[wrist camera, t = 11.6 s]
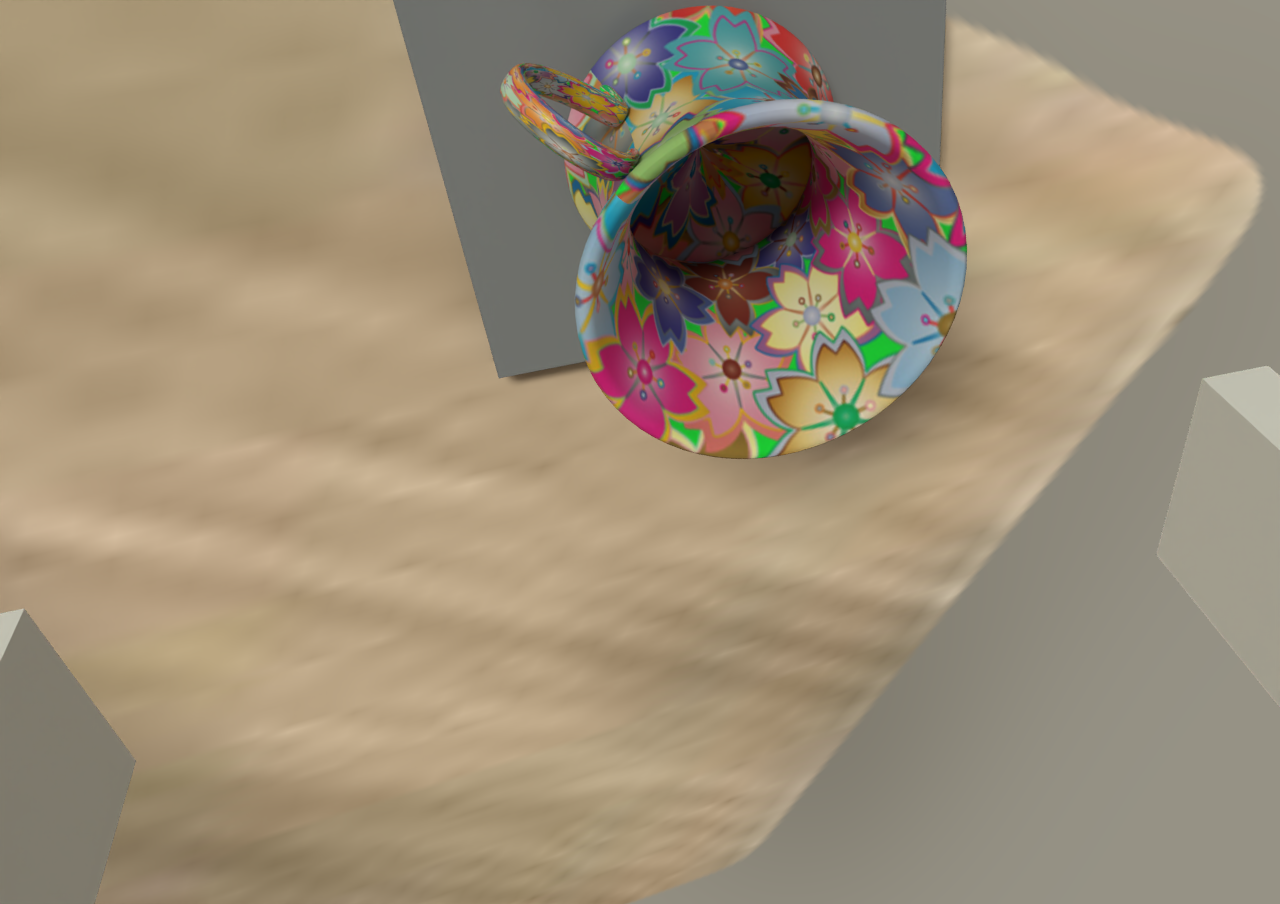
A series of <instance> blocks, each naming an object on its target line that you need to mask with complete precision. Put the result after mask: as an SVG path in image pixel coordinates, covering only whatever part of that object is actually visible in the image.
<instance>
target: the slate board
mask: <svg viewBox="0 0 1280 904" xmlns="http://www.w3.org/2000/svg"><path fill="white" fill-rule="evenodd" d="M393 2H394V5H395V9H396V12H397V16H398V19H399V23H400V27H401V30H402V34H403V37H404V41H405V44H406V48H407V52H408V55H409V59H410V62H411V66H412V69H413V73H414V77H415V80H416V84H417V87H418V91H419V94H420V98H421V102H422V105H423V109H424V112H425V116H426V120H427V123H428V127H429V130H430V134H431V137H432V141H433V145H434V148H435V152H436V155H437V159H438V162H439V166H440V170H441V173H442V177H443V180H444V184H445V187H446V191H447V195H448V198H449V202H450V205H451V209H452V212H453V216H454V220H455V223H456V227H457V230H458V234H459V237H460V241H461V245H462V248H463V252H464V255H465V259H466V263H467V266H468V270H469V273H470V277H471V280H472V284H473V288H474V291H475V295H476V298H477V302H478V305H479V309H480V313H481V316H482V320H483V323H484V327H485V330H486V334H487V338H488V341H489V345H490V348H491V352H492V355H493V359H494V363H495V366H496V370H497V373H498V377H499V378H503V377H508V376H513V375H518V374H524V373H529V372H534V371H539V370H544V369H549V368H554V367H559V366H565V365H570V364H575V363H580V362H585V358H584V355H583V353H582V349H581V345H580V341H579V337H578V333H577V325H576V318H575V290H576V280H577V275H578V270H579V265H580V261H581V257H582V254H583V251H584V248H585V244H586V242H587V240H588V237H589V235H590V233H591V230H590V229H589V227H588V226H587V225H586V223H585V222H584V220H583V218H582V217H581V215H580V213H579V212H578V210H577V207H576V205H575V203H574V201H573V198H572V196H571V193H570V190H569V186H568V182H567V178H566V171H565V164H564V159H563V158H562V157H560V156H559V155H557V154H556V153H554V152H553V151H552V150H550V149H549V148H548V147H546V146H545V145H544V144H542V143H541V142H540V141H539V140H537V139H536V138H535V137H534V136H533V135H532V134H530V133H529V132H528V131H527V130H526V129H525V128H524V127H523V126H522V125H521V124H520V123H519V122H518V121H517V120H516V119H515V118H514V117H513V116H512V115H511V113H510V112H509V111H508V110H507V108H506V107H505V105H504V103H503V101H502V99H501V95H500V88H501V84H502V82H503V80H504V78H505V77H506V75H507V74H508V72H509V71H510V70H511V69H512V68H513V67H514V66H516V65H518V64H521V63H533V64H539V65H543V66H547V67H550V68H553V69H556V70H559V71H561V72H564V73H566V74H568V75H571V76H573V77H575V78H577V79H579V80H581V81H584V80H585V78H586V76H587V75H588V73H589V72H590V70H591V69H592V67H593V66H594V65H595V64H596V62H597V61H598V60H599V58H600V57H601V56H602V55H603V54H604V53H605V52H606V51H607V50H608V49H609V48H610V47H611V46H612V45H613V44H614V43H615V42H616V41H618V40H619V39H620V38H621V37H622V36H624V35H625V34H626V33H628V32H629V31H631V30H632V29H634V28H635V27H637V26H639V25H641V24H642V23H644V22H646V21H648V20H650V19H652V18H655V17H657V16H659V15H662V14H665V13H668V12H671V11H674V10H678V9H683V8H687V7H696V6H727V7H734V8H739V9H744V10H748V11H751V12H754V13H757V14H760V15H762V16H764V17H766V18H768V19H771V20H773V21H774V22H776V23H778V24H779V25H781V26H783V27H784V28H785V29H787V30H788V31H789V32H791V33H792V34H793V35H794V36H796V37H797V38H798V39H799V40H800V41H801V42H802V43H803V44H804V45H805V46H806V48H807V49H808V50H809V51H810V52H811V54H812V55H813V56H814V58H815V59H816V61H817V62H818V64H819V65H820V67H821V69H822V71H823V73H824V75H825V77H826V80H827V82H828V85H829V87H830V90H831V94H832V98H833V101H834V102H835V103H840V104H846V105H849V106H852V107H855V108H859V109H862V110H865V111H867V112H870V113H872V114H874V115H877V116H879V117H881V118H883V119H885V120H887V121H889V122H890V123H892V124H894V125H895V126H897V127H899V128H900V129H902V130H903V131H904V132H906V133H907V134H908V135H910V136H911V137H912V138H914V139H915V140H916V141H917V142H918V143H919V144H920V145H921V146H922V147H923V148H924V149H925V150H926V151H927V152H928V153H929V154H930V155H931V157H932V158H933V159H934V160H935V162H936V163H937V164H938V165H939V166H940V144H941V119H942V93H943V68H944V43H945V18H946V0H393ZM540 97H541V98H542V99H543V100H544V101H545V102H546V103H547V104H548V105H549V106H551V107H552V108H553V109H554V110H555V111H556V112H558V113H559V114H560V115H561V116H562V117H564V118H565V119H566V120H568V118H569V114H570V111H571V108H570V107H568V106H566V105H564V104H561V103H559V102H556V101H554V100H551V99H548V98H545V97H542V96H540Z"/></svg>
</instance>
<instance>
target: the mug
mask: <svg viewBox="0 0 1280 904" xmlns="http://www.w3.org/2000/svg"><path fill="white" fill-rule="evenodd" d="M500 95H501V99H502V101H503V103H504V105H505V107H506V108H507V110H508V111H509V112H510V113H511V115H512V116H513V117H514V118H515V119H516V120H517V121H518V122H519V123H520V124H521V125H522V126H523V127H524V128H525V129H526V130H527V131H528V132H529V133H530V134H532V135H533V136H534V137H535V138H536V139H537V140H539V141H540V142H541V143H542V144H544V145H545V146H546V147H548V148H549V149H550V150H552V151H553V152H554V153H556V154H557V155H559V156H560V157H562V158H563V159H564V164H565V171H566V178H567V182H568V186H569V190H570V193H571V196H572V198H573V201H574V203H575V205H576V207H577V210H578V212H579V213H580V215H581V217H582V218H583V220H584V222H585V223H586V225H587V226H588V227H589V229H590V230H591V233H590V235H589V237H588V240H587V242H586V244H585V248H584V251H583V254H582V257H581V261H580V265H579V270H578V275H577V280H576V290H575V318H576V325H577V333H578V337H579V341H580V345H581V349H582V353H583V355H584V358H585V361H586V363H587V366H588V368H589V370H590V372H591V374H592V376H593V378H594V380H595V381H596V383H597V384H598V386H599V387H600V389H601V390H602V392H603V393H604V395H605V396H606V397H607V398H608V400H609V401H610V402H611V403H612V404H613V405H614V407H615V408H616V409H617V410H619V411H620V412H621V413H622V414H623V415H624V416H625V417H626V418H627V419H628V420H630V421H631V422H632V423H633V424H635V425H636V426H637V427H639V428H640V429H641V430H643V431H645V432H646V433H648V434H650V435H651V436H653V437H655V438H657V439H659V440H661V441H663V442H665V443H667V444H669V445H672V446H675V447H677V448H680V449H682V450H686V451H690V452H693V453H697V454H701V455H707V456H712V457H720V458H731V459H753V458H767V457H774V456H781V455H786V454H790V453H795V452H799V451H802V450H806V449H809V448H812V447H816V446H818V445H821V444H823V443H826V442H829V441H831V440H833V439H836V438H838V437H840V436H842V435H844V434H846V433H848V432H850V431H852V430H854V429H855V428H857V427H859V426H861V425H862V424H864V423H866V422H867V421H869V420H870V419H872V418H873V417H875V416H876V415H878V414H879V413H880V412H882V411H883V410H884V409H885V408H887V407H888V406H889V405H890V404H892V403H893V402H894V401H895V400H896V399H897V398H898V397H900V396H901V395H902V394H903V393H904V392H905V391H906V390H907V389H908V388H909V387H910V386H911V385H912V384H913V383H914V382H915V380H916V379H917V378H918V377H919V376H920V375H921V373H922V372H923V371H924V370H925V368H926V367H927V366H928V365H929V363H930V362H931V360H932V359H933V357H934V356H935V354H936V353H937V351H938V350H939V348H940V346H941V345H942V343H943V341H944V339H945V337H946V336H947V334H948V332H949V329H950V327H951V325H952V323H953V320H954V318H955V315H956V312H957V309H958V307H959V304H960V300H961V296H962V292H963V288H964V282H965V275H966V265H967V244H966V232H965V227H964V222H963V217H962V213H961V210H960V206H959V203H958V200H957V197H956V195H955V193H954V191H953V189H952V187H951V185H950V182H949V181H948V179H947V177H946V176H945V174H944V173H943V171H942V169H941V168H940V166H939V165H938V164H937V163H936V162H935V160H934V159H933V158H932V157H931V155H930V154H929V153H928V152H927V151H926V150H925V149H924V148H923V147H922V146H921V145H920V144H919V143H918V142H917V141H916V140H915V139H914V138H912V137H911V136H910V135H908V134H907V133H906V132H904V131H903V130H902V129H900V128H899V127H897V126H895V125H894V124H892V123H890V122H889V121H887V120H885V119H883V118H881V117H879V116H877V115H874V114H872V113H870V112H867V111H865V110H862V109H859V108H855V107H852V106H849V105H846V104H840V103H835V102H834V101H833V98H832V94H831V90H830V87H829V85H828V82H827V80H826V77H825V75H824V73H823V71H822V69H821V67H820V65H819V64H818V62H817V61H816V59H815V58H814V56H813V55H812V54H811V52H810V51H809V50H808V49H807V48H806V46H805V45H804V44H803V43H802V42H801V41H800V40H799V39H798V38H797V37H796V36H794V35H793V34H792V33H791V32H789V31H788V30H787V29H785V28H784V27H783V26H781V25H779V24H778V23H776V22H774V21H773V20H771V19H768V18H766V17H764V16H762V15H760V14H757V13H754V12H751V11H748V10H744V9H739V8H734V7H727V6H696V7H687V8H683V9H678V10H674V11H671V12H668V13H665V14H662V15H659V16H657V17H655V18H652V19H650V20H648V21H646V22H644V23H642V24H641V25H639V26H637V27H635V28H634V29H632V30H631V31H629V32H628V33H626V34H625V35H624V36H622V37H621V38H620V39H619V40H618V41H616V42H615V43H614V44H613V45H612V46H611V47H610V48H609V49H608V50H607V51H606V52H605V53H604V54H603V55H602V56H601V57H600V58H599V60H598V61H597V62H596V64H595V65H594V66H593V67H592V69H591V70H590V72H589V73H588V75H587V76H586V78H585V80H584V81H581V80H579V79H577V78H575V77H573V76H571V75H568V74H566V73H564V72H561V71H559V70H556V69H553V68H550V67H547V66H543V65H539V64H533V63H521V64H518V65H516V66H514V67H513V68H512V69H511V70H510V71H509V72H508V74H507V75H506V77H505V78H504V80H503V82H502V84H501V88H500ZM540 96H542V97H545V98H548V99H551V100H554V101H556V102H559V103H561V104H564V105H566V106H568V107H570V108H571V111H570V114H569V118H568V120H566V119H565V118H564V117H562V116H561V115H560V114H559V113H558V112H556V111H555V110H554V109H553V108H552V107H551V106H549V105H548V104H547V103H546V102H545V101H544V100H543V99H542V98H541V97H540Z"/></svg>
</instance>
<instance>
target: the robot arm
mask: <svg viewBox="0 0 1280 904" xmlns="http://www.w3.org/2000/svg"><path fill="white" fill-rule="evenodd" d="M1156 555H1157V556H1158V557H1159V559H1160V560H1161V561H1162V563H1163V564H1164V565H1165V566H1166V567H1167V569H1168V570H1169V571H1170V572H1171V574H1172V575H1173V576H1174V577H1175V579H1176V580H1177V581H1178V582H1179V584H1180V585H1181V586H1182V587H1183V589H1184V590H1185V591H1186V592H1187V593H1188V595H1189V596H1190V597H1191V598H1192V600H1193V601H1194V602H1195V603H1196V605H1197V606H1198V607H1199V608H1200V610H1201V611H1202V612H1203V613H1204V614H1205V616H1206V617H1207V618H1208V620H1209V621H1210V622H1211V623H1212V624H1213V626H1214V627H1215V628H1216V629H1217V630H1218V632H1219V633H1220V634H1221V636H1222V637H1223V638H1224V639H1225V641H1226V642H1227V643H1228V644H1229V645H1230V647H1231V648H1232V649H1233V650H1234V652H1235V653H1236V654H1237V655H1238V657H1239V658H1240V659H1241V660H1242V661H1243V663H1244V664H1245V665H1246V667H1247V668H1248V669H1249V670H1250V672H1251V673H1252V674H1253V675H1254V676H1255V678H1256V679H1257V680H1258V681H1259V682H1260V684H1261V685H1262V686H1263V688H1264V689H1265V690H1266V691H1267V693H1268V694H1269V695H1270V696H1271V698H1272V699H1273V700H1274V701H1275V702H1276V704H1277V705H1278V706H1279V707H1280V376H1279V375H1278V374H1277V373H1276V372H1275V371H1273V370H1272V369H1271V368H1270V367H1268V366H1265V367H1260V368H1255V369H1249V370H1244V371H1239V372H1234V373H1229V374H1224V375H1218V376H1214V377H1208V378H1203V379H1202V383H1201V386H1200V390H1199V394H1198V398H1197V401H1196V405H1195V409H1194V413H1193V417H1192V420H1191V424H1190V428H1189V432H1188V436H1187V439H1186V443H1185V447H1184V451H1183V454H1182V458H1181V462H1180V466H1179V470H1178V474H1177V477H1176V481H1175V485H1174V489H1173V492H1172V496H1171V500H1170V504H1169V508H1168V511H1167V515H1166V519H1165V523H1164V526H1163V530H1162V534H1161V538H1160V542H1159V545H1158V550H1157V553H1156ZM135 762H136V760H135V759H134V758H133V756H132V755H131V753H130V752H129V751H128V749H127V748H126V747H125V745H124V744H123V743H122V741H121V740H120V738H119V737H118V736H117V734H116V733H115V732H114V730H113V729H112V728H111V726H110V725H109V723H108V722H107V721H106V719H105V718H104V717H103V715H102V714H101V713H100V711H99V710H98V708H97V707H96V706H95V704H94V703H93V702H92V700H91V699H90V698H89V696H88V695H87V693H86V692H85V691H84V689H83V688H82V687H81V685H80V684H79V683H78V681H77V680H76V678H75V677H74V676H73V674H72V673H71V672H70V670H69V669H68V668H67V666H66V665H65V663H64V662H63V661H62V659H61V658H60V657H59V655H58V654H57V653H56V651H55V650H54V648H53V647H52V646H51V644H50V643H49V642H48V640H47V639H46V638H45V636H44V635H43V633H42V632H41V631H40V629H39V628H38V627H37V625H36V624H35V623H34V621H33V620H32V618H31V617H30V616H29V614H28V613H27V612H26V610H25V609H20V610H15V611H10V612H5V613H0V904H95V900H96V897H97V894H98V890H99V887H100V883H101V880H102V876H103V873H104V869H105V866H106V862H107V859H108V855H109V852H110V849H111V845H112V842H113V838H114V835H115V831H116V828H117V824H118V821H119V817H120V814H121V811H122V807H123V804H124V800H125V797H126V793H127V790H128V786H129V783H130V779H131V776H132V773H133V769H134V766H135Z"/></svg>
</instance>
